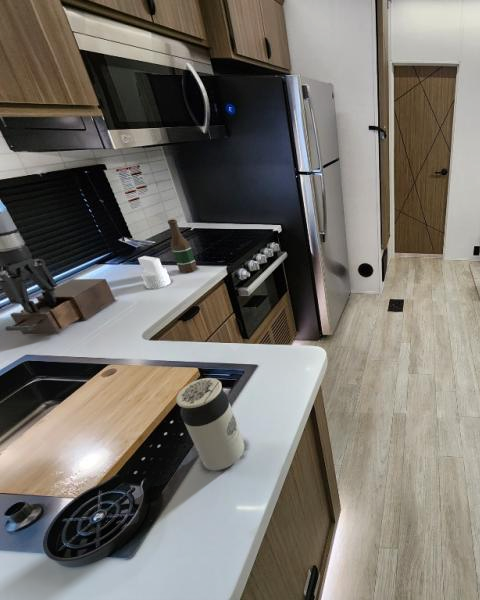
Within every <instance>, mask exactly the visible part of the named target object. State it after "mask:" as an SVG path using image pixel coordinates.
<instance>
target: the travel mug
mask: <svg viewBox="0 0 480 600" xmlns="http://www.w3.org/2000/svg"><path fill="white" fill-rule="evenodd" d="M222 388H223V387H222V382H221V381H220V380H218V379H217V378H214V377H213V378H212V377H205V378H200V379H197V380H194V381H192V382H190V383H187V384H186V386H184V387H183V388H181V390H180V391H179V392H178V394H177V395H176V399H175V400H176V404H177V405H178V406H179V407H180V410H179V411H180V412H179V413H180V417H181V419H182V421H183V424H184V425H185V427H186V430H187V432H188V434H189V436H190V438H191V441H192V443H193V445H194V447H195V449H196V451H197V453H198V455H199V457H200V460H201V462H202V464H203V467H205V468H206V469H207V470H210V471H220V470H221V471H222V470H224V469H227V468H229V467H231V466H232V465H234V464H235V463H237V461H238V460H239V459H240V458H241V457H242V455H243V453H244V451H245V442H244V440H243V437H242V434H241V432H240V431H241V430H240V429H239V426H238V423H237V420H236V417H235V415H234V412H233V409H232V406H231V403H230V400H229V397H228V395H227V393H226V391H224V390H223V389H222Z"/></svg>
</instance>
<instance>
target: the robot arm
mask: <svg viewBox="0 0 480 600" xmlns="http://www.w3.org/2000/svg"><path fill="white" fill-rule="evenodd" d="M32 256H33V255H32V253H31V250H30V249H29V247H28V246H27V245H26V242H25V240H24V238H23V237H22V235H21V233H20V231H19V230H18V228H17V226H16V224H15V223H14V221H13V218H12V217H11V215H10V213H9V211H8V209H7V207H6V205H5V204H4V203H3V201H2V200H1V199H0V267H1V271H0V286H1V288H2V291H4V293H5V295H6V297H7V299H8V301H9V302H10V304H13V305H14V304H15V305H16V304H17V305H18V304H20V305H21V307H22V310H23V309H24V310H25V311H26V312H39V310H38V308H37V307H36V305H35V303H36V302H34V300H30V297H29V293H28V290H27V284H26V281H27V277H28V278H29V279H30V280H31V281H32V282H34V284H36V286H37V287H39V288H40V289H41V290H42V291H41V295H43V297H44V299H45V300H46V302H47V304H48V306H58V305H59V304H58V303H57V301H56V299H57V298H56V296H55V294H54V292H53V291H55V290H56V289H55V288H56V287H58V284H57V282H56V281H55V279H54V277H53V276H52V274H51V272H50V270H49V269H48V268H47V266H46V262H45V261H46V260H45V259H41V258H39V259H36V258H35V259H33V258H32Z"/></svg>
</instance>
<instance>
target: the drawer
mask: <svg viewBox="0 0 480 600" xmlns="http://www.w3.org/2000/svg"><path fill="white" fill-rule="evenodd" d="M56 301H57V303H58V304H59V305H58V306H56V307H55V308H53V309H51V310H49V311H50V312H26V311H25V310H24V309H23V308H22V309H21V310H20V312H11V313H10V314H9V316H10V317H11V319H12V320H13V321H14V324H12V325H7V326H5V331H6V332H21V334H22V335H24V336H26V335H27V336H29V335H32V336H33V335H59V334H61V333H62V330H63V329H65V328H67V327H68V326H70V325H71V324H73V323H74V322H76V321H79V320H78V319H79V318H81V317H82V316H81V314H80V312H79V311H78V309H77V307H76V305H75V303H74V302H73V300H72V299H56ZM34 303H35V305H36V307H37V308H40V307H41V306H48V304H47V302H46V300H45V299H43V300H41V301H39V302H38V301H37V302H34ZM50 313H51V314H50ZM52 316H53V317H52ZM53 318H54V319H53ZM55 321H56V322H55ZM56 323H57V324H56Z"/></svg>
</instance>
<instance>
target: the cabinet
mask: <svg viewBox="0 0 480 600" xmlns="http://www.w3.org/2000/svg"><path fill="white" fill-rule="evenodd" d="M54 288H55V289H56V290H55V291H53V292H54V294H55V296H56V298H57V299H72V300H73V302H74V303H75V305H76V307H77V309H78V311H79V312H80V314H81V316H82V317H81V318H79V319H78V320H77V321H87V320H89V319H90V318H93V316H95V315H97V314H98V313H100V312H101V311H103V310H104V309H105V308H107V307H109V306H110V305H112V304H113V303H115V302H116V301H117V300H116V298H115V295H114V294H113V292H112V290H111V288H110V285H109V283H108V281H107V279H106V278H77V279H75V278H74V279H73V278H72V279H70V280H67V281H66V282H63V283H62V284H60V285H57V286H56V287H54ZM35 298H36V300H37V302H39V301H41V300H43V299H44V297H43V295H42V294H39V295H38V296H36V297H35Z"/></svg>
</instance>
